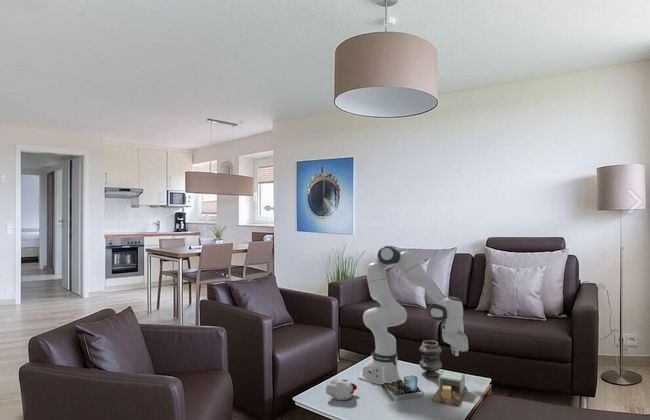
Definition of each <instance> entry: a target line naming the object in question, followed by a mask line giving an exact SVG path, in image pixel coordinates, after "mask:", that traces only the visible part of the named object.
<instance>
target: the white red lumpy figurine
mask: <svg viewBox="0 0 650 420" xmlns="http://www.w3.org/2000/svg"><path fill="white" fill-rule="evenodd" d="M325 388H326V389H325V393H326V394H327V395H328V396H330V397H331V398H332V399H334V400H338V401H347V400H351V398H352V397H353V394H354V393H355V391H356V390H357V389H358V387H357V385H356V384H355V383H352V382H349V381H348V380H347V379H342V380H341V379H339V378H338V379H336V378H335V379H332V380H331V381H330V383H328V384H327V385H326V386H325Z"/></svg>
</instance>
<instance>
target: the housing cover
mask: <svg viewBox="0 0 650 420" xmlns="http://www.w3.org/2000/svg"><path fill="white" fill-rule="evenodd" d="M439 374H440V375H439V377H438V379H437V380H438V382H437V383H438V389H441V388H442V386H443V385H444V384H448V385H453V386H459V387H460V393H462V392H463V390H464V388H465V386H466V378H465V377H466V374H465V373H459V372H453V371H447V370H442V371H441V372H440V373H439Z"/></svg>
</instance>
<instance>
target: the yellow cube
mask: <svg viewBox="0 0 650 420" xmlns="http://www.w3.org/2000/svg"><path fill="white" fill-rule="evenodd" d="M442 398H445V399H451V386H442Z"/></svg>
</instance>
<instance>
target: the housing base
mask: <svg viewBox="0 0 650 420" xmlns="http://www.w3.org/2000/svg"><path fill="white" fill-rule="evenodd" d="M443 386H451V399H445V398H442V388H441V389H439V388H438V389H437V390H436V392H435V393H434V395H433V396H432V398H431V402H432V403H433V402H435V403H438V404H445V405H450V406H456V407H459V405H460V403H461V400H462V399H463V397H464V395H465V393H466V391H467V386H466V385H465V388H464V390H463V392H462V393H460V387H459V386H453V385H448V384H444V385H443Z"/></svg>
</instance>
